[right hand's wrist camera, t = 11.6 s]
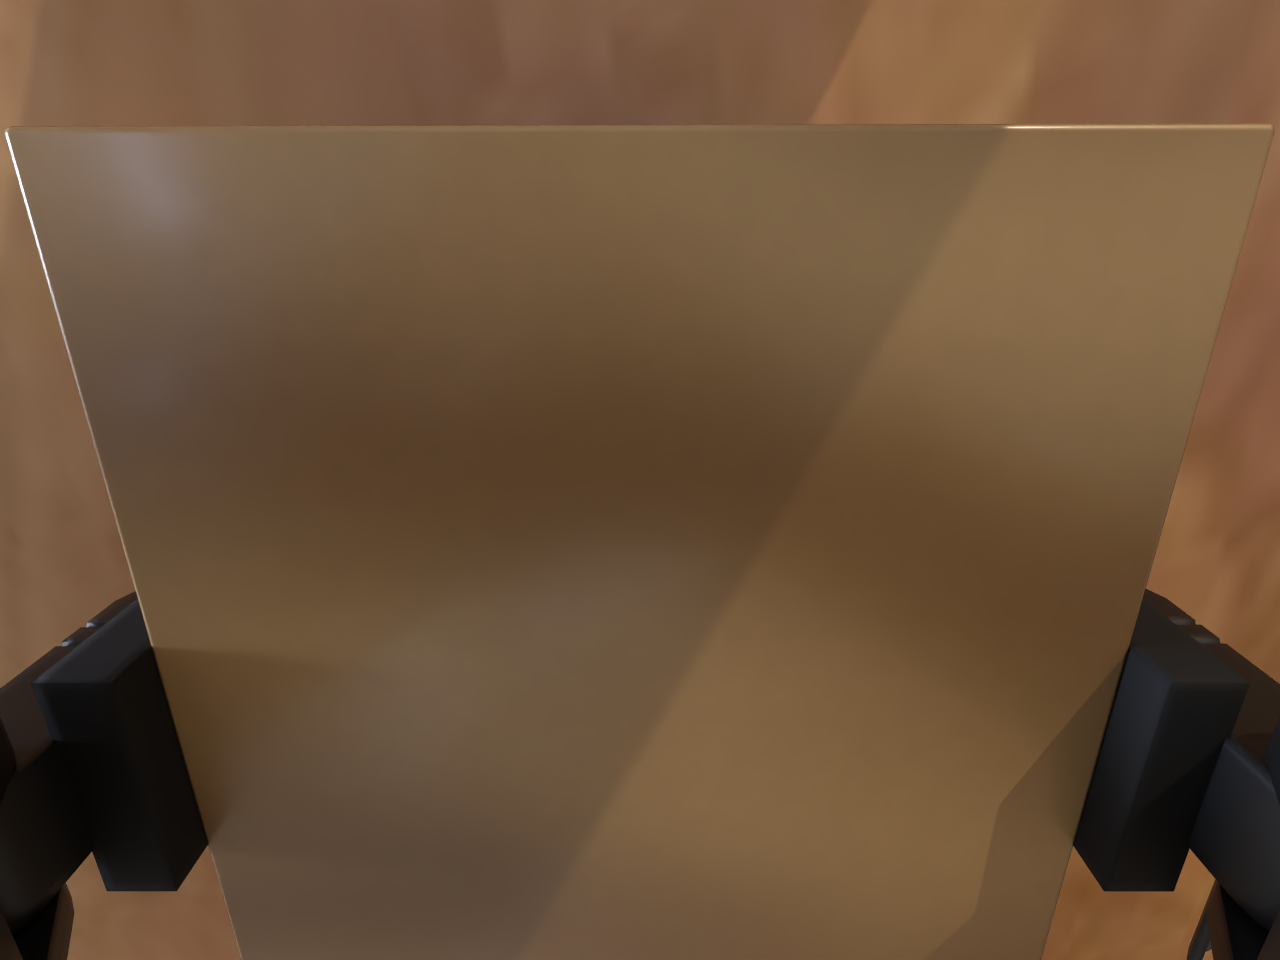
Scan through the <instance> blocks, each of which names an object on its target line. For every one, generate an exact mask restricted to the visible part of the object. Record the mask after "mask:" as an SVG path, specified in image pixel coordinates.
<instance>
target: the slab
mask: <svg viewBox="0 0 1280 960" xmlns="http://www.w3.org/2000/svg"><path fill="white" fill-rule="evenodd" d="M1273 135H1274V126H1271V125H1269V124H837V125H369V126H12V127H10V128H8V129H6V130H5V136H6V139H7V143H8V146H9V150H10V153H11V157H12V160H13V164H14V167H15V170H16V174H17V177H18V181H19V184H20V188H21V191H22V195H23V198H24V202H25V205H26V209H27V212H28V216H29V219H30V223H31V226H32V230H33V233H34V237H35V240H36V244H37V247H38V251H39V254H40V258H41V261H42V265H43V268H44V272H45V275H46V279H47V282H48V286H49V289H50V293H51V296H52V300H53V303H54V307H55V310H56V314H57V317H58V321H59V324H60V328H61V331H62V335H63V338H64V342H65V345H66V349H67V352H68V356H69V359H70V363H71V366H72V370H73V373H74V377H75V380H76V384H77V387H78V391H79V394H80V398H81V401H82V405H83V408H84V412H85V415H86V419H87V422H88V426H89V429H90V433H91V436H92V440H93V443H94V447H95V450H96V454H97V457H98V461H99V464H100V468H101V471H102V475H103V478H104V482H105V485H106V489H107V492H108V496H109V499H110V503H111V506H112V510H113V513H114V517H115V520H116V524H117V527H118V531H119V534H120V538H121V541H122V545H123V548H124V551H125V555H126V558H127V562H128V565H129V569H130V572H131V576H132V579H133V583H134V586H135V590H136V593H137V597H138V600H139V604H140V607H141V611H142V614H143V618H144V621H145V625H146V628H147V632H148V635H149V639H150V642H151V646H152V649H153V653H154V656H155V660H156V663H157V667H158V670H159V674H160V677H161V681H162V684H163V688H164V691H165V695H166V698H167V702H168V705H169V709H170V712H171V716H172V719H173V723H174V726H175V730H176V733H177V737H178V740H179V744H180V747H181V751H182V754H183V758H184V761H185V765H186V768H187V772H188V775H189V779H190V782H191V786H192V789H193V793H194V796H195V800H196V803H197V807H198V810H199V814H200V817H201V821H202V824H203V828H204V831H205V835H206V838H207V842H208V845H209V849H210V852H211V856H212V859H213V863H214V866H215V870H216V873H217V877H218V880H219V884H220V887H221V891H222V894H223V898H224V901H225V905H226V908H227V912H228V915H229V919H230V922H231V926H232V929H233V932H234V936H235V939H236V943H237V946H238V950H239V953H240V957H241V960H1041V957H1042V953H1043V950H1044V946H1045V943H1046V939H1047V935H1048V932H1049V928H1050V925H1051V921H1052V918H1053V914H1054V911H1055V907H1056V904H1057V900H1058V896H1059V893H1060V889H1061V886H1062V882H1063V879H1064V875H1065V872H1066V868H1067V865H1068V861H1069V858H1070V854H1071V850H1072V847H1073V843H1074V840H1075V836H1076V833H1077V829H1078V826H1079V822H1080V819H1081V815H1082V811H1083V808H1084V804H1085V801H1086V797H1087V794H1088V790H1089V787H1090V783H1091V780H1092V776H1093V772H1094V769H1095V765H1096V762H1097V758H1098V755H1099V751H1100V748H1101V744H1102V741H1103V737H1104V733H1105V730H1106V726H1107V723H1108V719H1109V716H1110V712H1111V709H1112V705H1113V702H1114V698H1115V695H1116V691H1117V687H1118V684H1119V680H1120V677H1121V673H1122V670H1123V666H1124V663H1125V659H1126V656H1127V652H1128V648H1129V645H1130V641H1131V638H1132V634H1133V631H1134V627H1135V624H1136V620H1137V617H1138V613H1139V609H1140V606H1141V602H1142V599H1143V595H1144V592H1145V588H1146V585H1147V581H1148V578H1149V574H1150V571H1151V567H1152V563H1153V560H1154V556H1155V553H1156V549H1157V546H1158V542H1159V539H1160V535H1161V532H1162V528H1163V524H1164V521H1165V517H1166V514H1167V510H1168V507H1169V503H1170V500H1171V496H1172V493H1173V489H1174V485H1175V482H1176V478H1177V475H1178V471H1179V468H1180V464H1181V461H1182V457H1183V454H1184V450H1185V447H1186V443H1187V439H1188V436H1189V432H1190V429H1191V425H1192V422H1193V418H1194V415H1195V411H1196V408H1197V404H1198V400H1199V397H1200V393H1201V390H1202V386H1203V383H1204V379H1205V376H1206V372H1207V369H1208V365H1209V361H1210V358H1211V354H1212V351H1213V347H1214V344H1215V340H1216V337H1217V333H1218V330H1219V326H1220V322H1221V319H1222V315H1223V312H1224V308H1225V305H1226V301H1227V298H1228V294H1229V291H1230V287H1231V284H1232V280H1233V276H1234V273H1235V269H1236V266H1237V262H1238V259H1239V255H1240V252H1241V248H1242V245H1243V241H1244V237H1245V234H1246V230H1247V227H1248V223H1249V220H1250V216H1251V213H1252V209H1253V206H1254V202H1255V198H1256V195H1257V191H1258V188H1259V184H1260V181H1261V177H1262V174H1263V170H1264V167H1265V163H1266V160H1267V156H1268V152H1269V149H1270V145H1271V142H1272V138H1273Z"/></svg>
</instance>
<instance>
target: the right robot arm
mask: <svg viewBox="0 0 1280 960" xmlns="http://www.w3.org/2000/svg"><path fill="white" fill-rule="evenodd" d="M86 624H87V625H86V627H81V628H79V629H78V630H77V631H75V632H74V633H73V634H71V635H70V636H69V637H67V638H66V639H65V640H64V641H62V646H56V647H54V648H53V649H52V650H50V651H49V652H48V653H47V654H45V655H44V656H43V657H41V658H40V659H39V660H37V661H36V662H35V663H33V664H32V665H31V666H29V667H28V668H27V669H26V670H24V671H23V672H22V673H20V674H19V675H18V676H16V677H15V678H14V679H12V680H11V681H10V682H9V683H7V684H6V685H5V686H3V687H2V688H1V689H0V960H67V956H68V949H69V943H70V937H71V931H72V925H73V919H74V908H73V902H72V897H71V895H70V892H69V890H68V887H67V885H66V881H67V880H68V879H69V878H70V877H71V875H72V874H73V873H74V872H75V871H76V869H77V868H78V867H79V866H80V865H81V864H82V862H83V861H84V860H85V859H86V858H87V856H88V855H89V854H90V853H91V852H93V855H94V857H95V860H96V863H97V865H98V868H99V871H100V874H101V876H102V879H103V882H104V884H105V887H106V890H107V891H177V890H178V888H179V887H180V885H181V884H182V882H183V881H184V879H185V878H186V876H187V875H188V873H189V872H190V870H191V869H192V867H193V866H194V864H195V863H196V861H197V860H198V858H199V857H200V855H201V854H202V853H203V851H204V850H205V848H206V847H207V845H208V842H207V838H206V835H205V831H204V828H203V824H202V821H201V817H200V814H199V810H198V807H197V803H196V800H195V796H194V793H193V789H192V786H191V782H190V779H189V775H188V772H187V768H186V765H185V761H184V758H183V754H182V751H181V747H180V744H179V740H178V737H177V733H176V730H175V726H174V723H173V719H172V716H171V712H170V709H169V705H168V702H167V698H166V695H165V691H164V688H163V684H162V681H161V677H160V674H159V670H158V667H157V663H156V660H155V656H154V653H153V649H152V646H151V642H150V639H149V635H148V632H147V628H146V625H145V621H144V618H143V614H142V611H141V607H140V604H139V600H138V597H137V593H136V591H135V592H133V593H131V594H129V595H127V596H125V597H123V598H121V599H118V600H116V601H115V602H113V603H112V604H111V605H109V606H108V607H107V608H106V609H104V610H103V611H102V612H100V613H99V614H98V615H96V616H95V617H94V618H92V619H91V620H90V621H88V622H87V623H86ZM1073 846H1074V847H1075V849H1076V850H1077V852H1078V853H1079V855H1080V856H1081V858H1082V859H1083V861H1084V862H1085V864H1086V865H1087V867H1088V868H1089V870H1090V871H1091V872H1092V874H1093V875H1094V877H1095V878H1096V880H1097V881H1098V883H1099V884H1100V886H1101V887H1102V889H1103V890H1104V891H1174V889H1175V886H1176V884H1177V881H1178V878H1179V876H1180V873H1181V870H1182V867H1183V865H1184V862H1185V859H1186V857H1187V854H1188V851H1189V848H1190V849H1191V850H1192V851H1193V853H1194V854H1195V855H1196V856H1197V857H1198V859H1199V860H1200V861H1201V862H1202V863H1203V864H1204V866H1205V867H1206V868H1207V869H1208V870H1209V872H1210V873H1211V874H1212V875H1213V876H1214V877H1215V882H1214V885H1213V887H1212V890H1211V892H1210V895H1209V897H1208V900H1207V902H1206V905H1205V907H1204V910H1203V913H1202V915H1201V918H1200V920H1199V923H1198V925H1197V928H1196V930H1195V933H1194V935H1193V938H1192V941H1191V943H1190V946H1189V949H1188V954H1187V960H1202V959H1203V957H1204V954H1205V952H1206V951H1208V950H1211V949H1212V953H1213V959H1214V960H1280V684H1279V683H1277V682H1276V681H1275V680H1273V679H1272V678H1271V677H1269V676H1268V675H1267V674H1265V673H1264V672H1263V671H1261V670H1260V669H1259V668H1257V667H1256V666H1255V665H1254V664H1252V663H1251V662H1250V661H1248V660H1247V659H1246V658H1244V657H1243V656H1242V655H1240V654H1239V653H1238V652H1236V651H1235V650H1234V649H1232V648H1231V647H1230V646H1228V645H1227V644H1220V639H1219V638H1218V637H1217V636H1215V635H1214V634H1213V633H1211V632H1210V631H1209V630H1207V629H1206V628H1205V627H1203V626H1202V625H1196V624H1195V620H1194V619H1193V618H1191V617H1190V616H1189V615H1187V614H1186V613H1185V612H1183V611H1182V610H1181V609H1180V608H1178V607H1177V606H1176V605H1174V604H1173V603H1172V602H1170V601H1169V600H1168V599H1166V598H1164V597H1162V596H1160V595H1158V594H1156V593H1154V592H1152V591H1150V590H1147V589H1145V592H1144V595H1143V599H1142V602H1141V606H1140V609H1139V613H1138V617H1137V620H1136V624H1135V627H1134V631H1133V634H1132V638H1131V641H1130V645H1129V648H1128V652H1127V656H1126V659H1125V663H1124V666H1123V670H1122V673H1121V677H1120V680H1119V684H1118V687H1117V691H1116V695H1115V698H1114V702H1113V705H1112V709H1111V712H1110V716H1109V719H1108V723H1107V726H1106V730H1105V733H1104V737H1103V741H1102V744H1101V748H1100V751H1099V755H1098V758H1097V762H1096V765H1095V769H1094V772H1093V776H1092V780H1091V783H1090V787H1089V790H1088V794H1087V797H1086V801H1085V804H1084V808H1083V811H1082V815H1081V819H1080V822H1079V826H1078V829H1077V833H1076V836H1075V840H1074V843H1073Z"/></svg>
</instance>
